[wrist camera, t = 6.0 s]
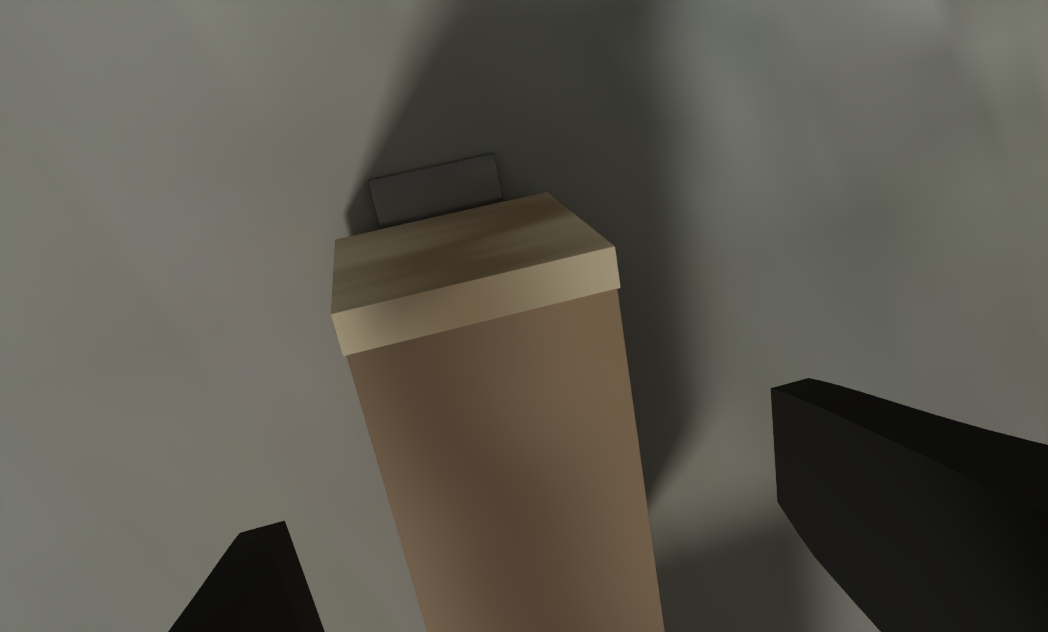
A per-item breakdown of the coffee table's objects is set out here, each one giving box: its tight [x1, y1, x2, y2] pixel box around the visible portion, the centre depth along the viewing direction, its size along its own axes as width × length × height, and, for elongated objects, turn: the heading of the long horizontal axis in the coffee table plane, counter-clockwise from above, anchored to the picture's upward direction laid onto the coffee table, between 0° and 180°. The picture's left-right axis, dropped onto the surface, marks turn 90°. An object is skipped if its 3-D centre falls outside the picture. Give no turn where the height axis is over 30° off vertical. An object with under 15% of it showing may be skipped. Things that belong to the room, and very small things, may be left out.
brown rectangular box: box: [331, 192, 665, 632], centre depth 18 cm, size 5×12×5 cm, turn 10°
